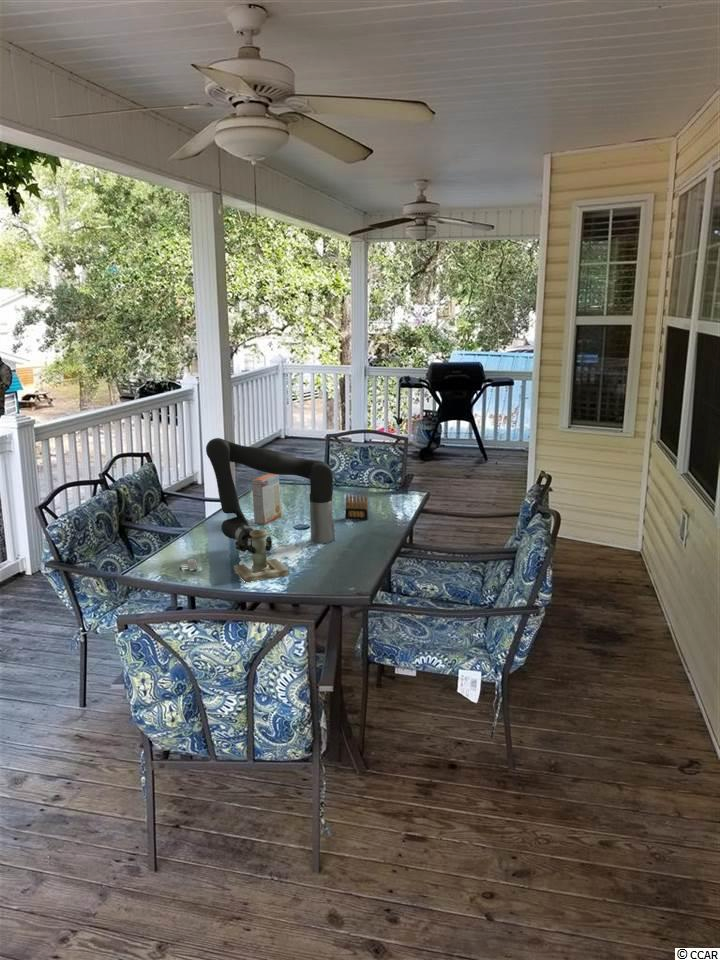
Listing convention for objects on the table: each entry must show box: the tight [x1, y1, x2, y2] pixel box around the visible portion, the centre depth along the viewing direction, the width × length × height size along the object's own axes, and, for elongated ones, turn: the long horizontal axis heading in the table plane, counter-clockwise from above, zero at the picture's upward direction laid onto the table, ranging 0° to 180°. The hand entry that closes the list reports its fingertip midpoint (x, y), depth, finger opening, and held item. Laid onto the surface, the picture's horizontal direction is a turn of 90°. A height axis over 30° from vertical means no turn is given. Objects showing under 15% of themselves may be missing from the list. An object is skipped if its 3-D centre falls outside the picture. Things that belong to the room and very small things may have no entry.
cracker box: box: [251, 473, 282, 525], centre depth 322 cm, size 14×6×21 cm, turn 152°
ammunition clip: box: [344, 493, 369, 521], centre depth 323 cm, size 11×2×12 cm, turn 76°
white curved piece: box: [179, 558, 199, 570], centre depth 261 cm, size 9×8×4 cm
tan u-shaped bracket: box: [233, 558, 290, 584], centre depth 257 cm, size 16×14×2 cm
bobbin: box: [250, 529, 270, 573], centre depth 256 cm, size 6×6×14 cm
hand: (261, 549), depth 254 cm, fingers closed on bobbin, 5 cm apart
